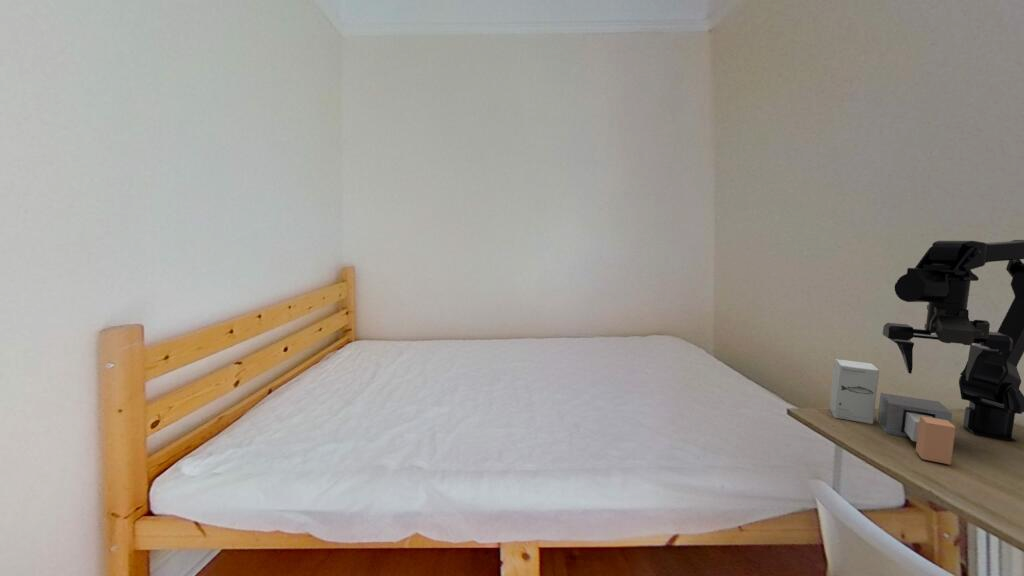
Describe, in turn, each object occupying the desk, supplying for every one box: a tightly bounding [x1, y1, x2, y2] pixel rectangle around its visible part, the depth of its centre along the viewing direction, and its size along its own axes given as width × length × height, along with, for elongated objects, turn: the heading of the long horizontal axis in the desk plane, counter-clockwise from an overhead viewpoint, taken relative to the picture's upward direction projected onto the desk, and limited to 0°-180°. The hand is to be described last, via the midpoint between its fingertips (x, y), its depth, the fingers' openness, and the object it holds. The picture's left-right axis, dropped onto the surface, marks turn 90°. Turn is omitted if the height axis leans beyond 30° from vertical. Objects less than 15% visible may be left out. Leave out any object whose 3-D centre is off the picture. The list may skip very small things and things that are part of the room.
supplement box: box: [829, 358, 880, 425], centre depth 106 cm, size 7×7×13 cm
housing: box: [876, 392, 953, 438], centre depth 98 cm, size 10×8×7 cm
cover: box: [904, 412, 956, 466], centre depth 89 cm, size 4×12×7 cm, turn 151°
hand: (938, 376), depth 94 cm, fingers open, 9 cm apart
